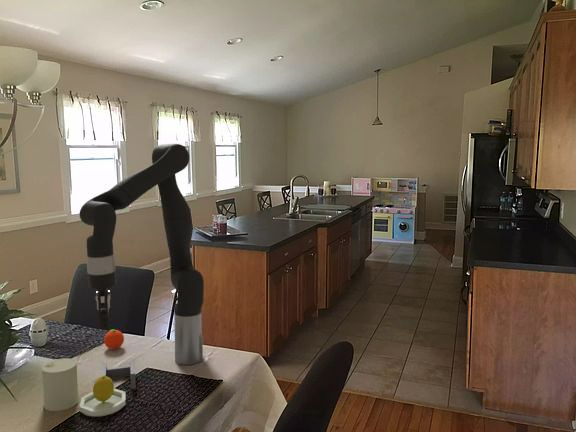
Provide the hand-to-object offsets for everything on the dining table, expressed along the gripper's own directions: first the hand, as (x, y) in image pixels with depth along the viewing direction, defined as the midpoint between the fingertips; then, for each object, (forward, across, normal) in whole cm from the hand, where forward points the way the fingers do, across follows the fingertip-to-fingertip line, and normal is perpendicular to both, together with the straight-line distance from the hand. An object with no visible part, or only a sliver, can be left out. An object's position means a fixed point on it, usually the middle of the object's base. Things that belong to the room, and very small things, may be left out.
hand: (104, 323), depth 138 cm
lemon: (+21, -6, +2) cm, 22 cm away
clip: (+22, +6, -3) cm, 23 cm away
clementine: (+22, +35, -2) cm, 41 cm away
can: (+22, -1, +13) cm, 25 cm away
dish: (+22, -6, +2) cm, 23 cm away
